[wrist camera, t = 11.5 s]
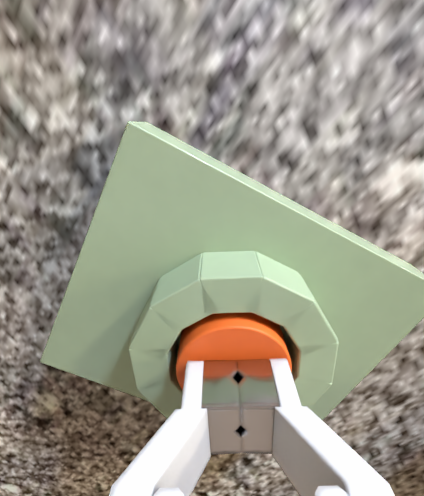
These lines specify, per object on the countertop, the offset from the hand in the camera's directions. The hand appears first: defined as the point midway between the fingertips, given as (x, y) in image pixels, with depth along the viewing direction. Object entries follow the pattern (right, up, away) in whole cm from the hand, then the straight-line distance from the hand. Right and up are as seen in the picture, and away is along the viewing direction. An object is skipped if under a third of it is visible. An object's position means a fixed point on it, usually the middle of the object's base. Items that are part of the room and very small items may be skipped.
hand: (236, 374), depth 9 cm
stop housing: (0, +2, +4) cm, 4 cm away
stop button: (0, +1, +2) cm, 2 cm away
